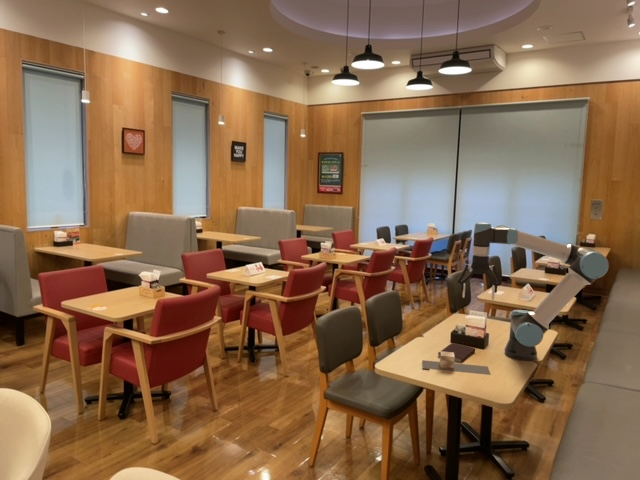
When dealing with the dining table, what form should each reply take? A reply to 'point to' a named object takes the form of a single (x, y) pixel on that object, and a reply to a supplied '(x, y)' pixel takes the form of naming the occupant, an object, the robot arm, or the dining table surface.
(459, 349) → the book
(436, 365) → the mat
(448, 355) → the block
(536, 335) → the robot arm
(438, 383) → the dining table surface
